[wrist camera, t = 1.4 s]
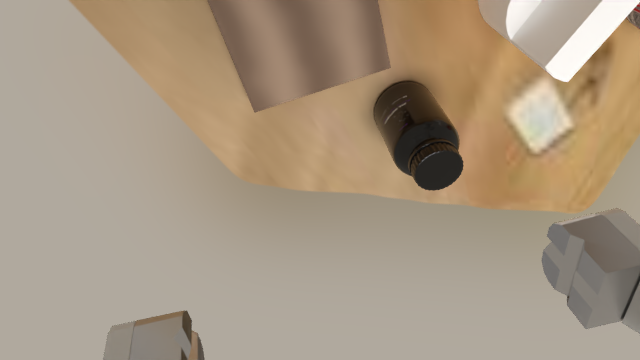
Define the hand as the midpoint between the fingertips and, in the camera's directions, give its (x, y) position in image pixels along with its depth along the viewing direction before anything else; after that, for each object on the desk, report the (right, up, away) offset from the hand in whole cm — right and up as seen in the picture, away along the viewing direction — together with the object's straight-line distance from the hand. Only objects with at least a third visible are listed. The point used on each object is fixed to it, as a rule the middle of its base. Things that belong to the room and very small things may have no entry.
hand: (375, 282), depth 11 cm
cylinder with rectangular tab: (+19, +22, +37) cm, 47 cm away
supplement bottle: (+8, +10, +44) cm, 46 cm away
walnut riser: (-4, +19, +35) cm, 40 cm away
